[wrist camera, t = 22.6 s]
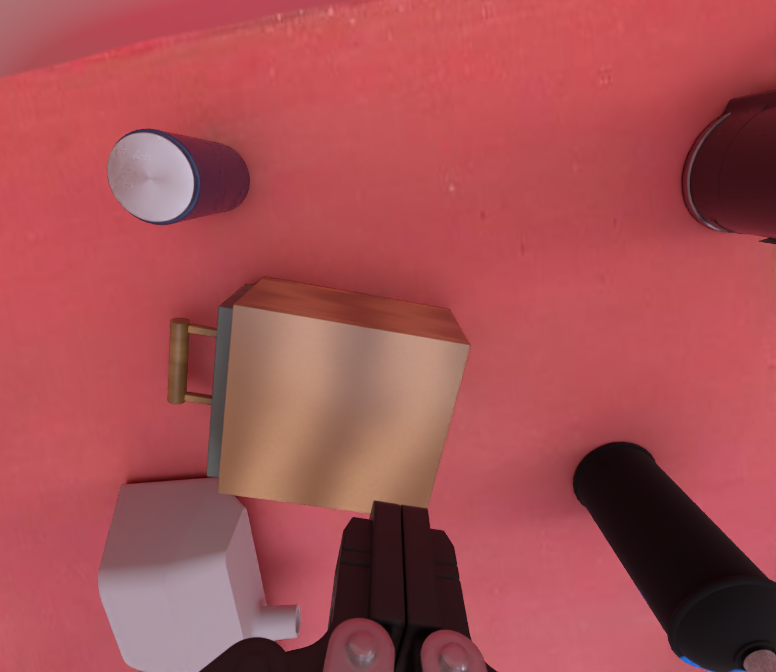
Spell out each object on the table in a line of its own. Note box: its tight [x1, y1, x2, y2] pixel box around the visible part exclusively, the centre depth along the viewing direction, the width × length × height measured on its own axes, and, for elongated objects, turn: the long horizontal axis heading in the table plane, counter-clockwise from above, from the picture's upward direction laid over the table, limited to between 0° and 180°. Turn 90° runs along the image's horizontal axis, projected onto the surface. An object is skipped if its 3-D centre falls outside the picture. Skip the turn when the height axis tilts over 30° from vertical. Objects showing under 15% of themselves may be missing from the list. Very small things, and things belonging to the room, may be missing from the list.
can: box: [107, 129, 250, 225], centre depth 30 cm, size 5×5×11 cm
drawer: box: [167, 284, 254, 478], centre depth 36 cm, size 20×14×7 cm
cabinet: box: [218, 277, 470, 514], centre depth 37 cm, size 16×15×9 cm
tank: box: [98, 477, 301, 672], centre depth 42 cm, size 25×16×12 cm, turn 4°
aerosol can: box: [573, 443, 776, 672], centre depth 36 cm, size 8×8×20 cm
